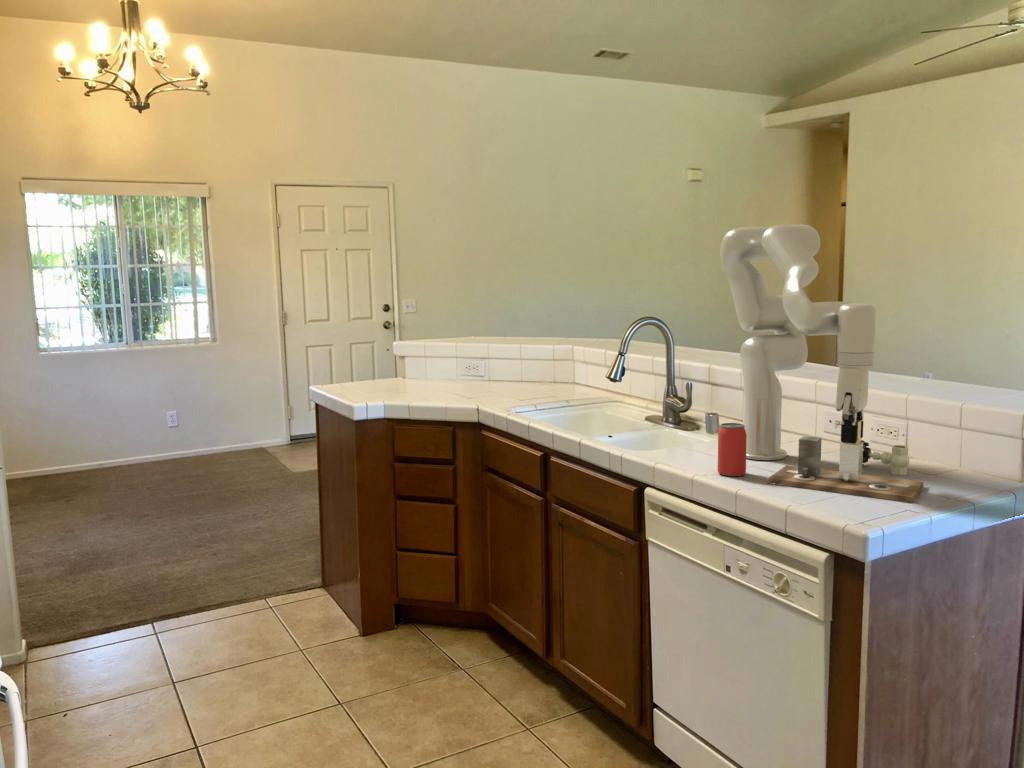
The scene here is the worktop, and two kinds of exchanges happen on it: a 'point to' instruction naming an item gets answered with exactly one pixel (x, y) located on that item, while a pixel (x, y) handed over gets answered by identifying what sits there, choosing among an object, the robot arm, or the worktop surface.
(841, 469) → the block
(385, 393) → the worktop surface
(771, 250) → the robot arm
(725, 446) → the beer can
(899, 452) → the valve
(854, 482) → the bolt plate
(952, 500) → the worktop surface
